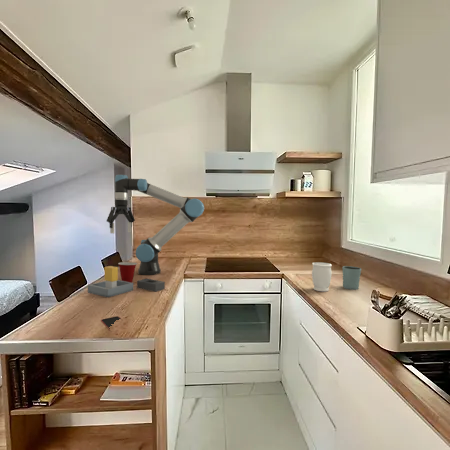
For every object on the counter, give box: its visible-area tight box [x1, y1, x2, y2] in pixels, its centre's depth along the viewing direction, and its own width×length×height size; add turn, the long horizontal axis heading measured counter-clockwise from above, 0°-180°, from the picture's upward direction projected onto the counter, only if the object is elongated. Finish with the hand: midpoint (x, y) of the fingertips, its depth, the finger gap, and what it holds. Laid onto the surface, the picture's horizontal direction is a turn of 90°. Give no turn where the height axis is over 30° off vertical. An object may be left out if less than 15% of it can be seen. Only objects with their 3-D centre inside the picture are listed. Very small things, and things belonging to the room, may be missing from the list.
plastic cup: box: [117, 261, 138, 283], centre depth 172 cm, size 11×11×12 cm
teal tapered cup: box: [341, 265, 362, 291], centre depth 170 cm, size 10×10×12 cm
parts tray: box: [87, 279, 134, 298], centre depth 153 cm, size 16×16×4 cm
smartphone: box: [100, 316, 122, 330], centre depth 110 cm, size 7×1×14 cm
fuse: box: [104, 265, 119, 289], centre depth 153 cm, size 4×6×12 cm, turn 59°
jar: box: [311, 261, 333, 292], centre depth 164 cm, size 11×10×15 cm
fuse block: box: [136, 278, 166, 292], centre depth 160 cm, size 7×14×4 cm, turn 60°
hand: (121, 232), depth 185 cm, fingers open, 13 cm apart
